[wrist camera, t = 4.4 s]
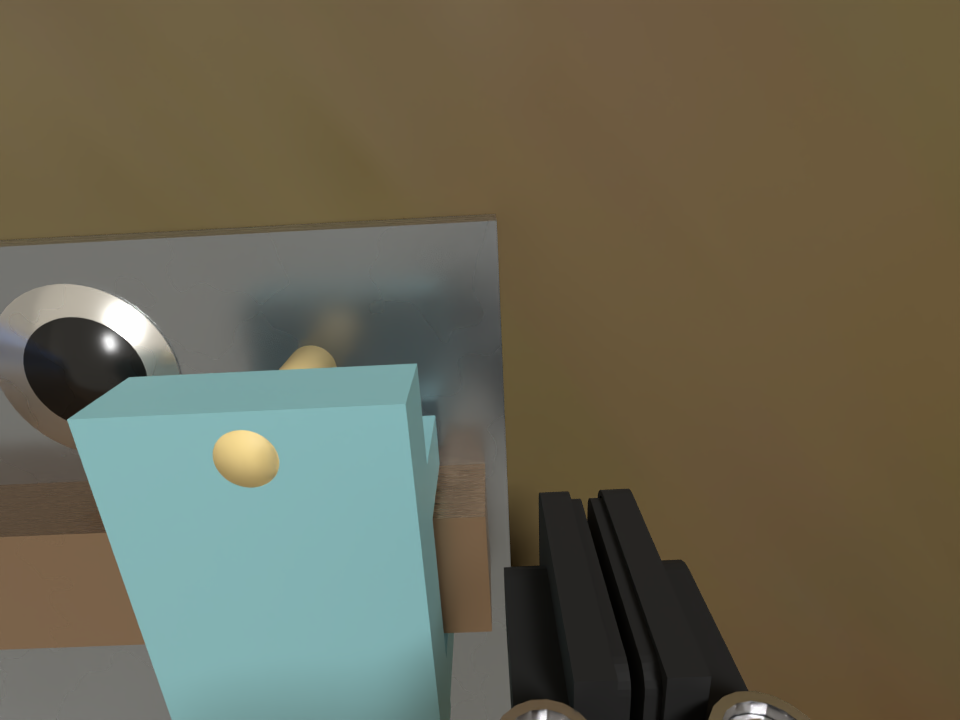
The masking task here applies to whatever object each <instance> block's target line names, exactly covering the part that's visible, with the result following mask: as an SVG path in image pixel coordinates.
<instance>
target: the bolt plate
mask: <svg viewBox="0 0 960 720" xmlns="http://www.w3.org/2000/svg"><path fill="white" fill-rule="evenodd" d="M308 345H313V346H318V347H321V348H323V349H325V350H326V351H327V352H329V353H330V354H331V355H332V357H333V358H334V360H335V363H336V366H337V367H354V366H375V365H396V364H417V367H418V378H419V388H420V398H421V408H422V416H433V415H435V417H436V429H437V440H438V451H439V462H440V465H439V472H438V480H437V488H436V496H435V503H434V511H433V529H434V539H435V550H436V560H437V570H438V580H439V590H440V600H441V610H442V620H443V630H444V633H454V642H453V660H452V678H451V696H450V701H451V714H450V720H500V719H501V717H502V716H503V715H504V714H505V713H506V712H508V711H509V710H510V709H511V699H510V683H509V666H508V650H507V632H506V613H505V590H504V567H511V560H510V536H509V512H508V487H507V463H506V439H505V415H504V390H503V366H502V342H501V317H500V293H499V269H498V245H497V221H496V215H495V214H489V215H470V216H451V217H433V218H414V219H395V220H376V221H357V222H339V223H320V224H301V225H282V226H263V227H245V228H226V229H207V230H188V231H169V232H151V233H132V234H113V235H94V236H75V237H57V238H38V239H19V240H0V720H172V719H171V716H170V713H169V711H168V708H167V705H166V702H165V699H164V696H163V693H162V691H161V688H160V685H159V682H158V679H157V676H156V673H155V670H154V668H153V665H152V662H151V659H150V656H149V653H148V650H147V648H146V645H145V642H144V639H143V636H142V633H141V630H140V628H139V625H138V622H137V619H136V616H135V613H134V610H133V607H132V605H131V602H130V599H129V596H128V593H127V590H126V587H125V585H124V582H123V579H122V576H121V573H120V570H119V567H118V564H117V562H116V559H115V556H114V553H113V550H112V547H111V544H110V542H109V539H108V536H107V533H106V530H105V527H104V524H103V521H102V519H101V516H100V513H99V510H98V507H97V504H96V501H95V499H94V496H93V493H92V490H91V487H90V484H89V481H88V479H87V476H86V473H85V470H84V467H83V464H82V461H81V458H80V456H79V453H78V450H77V447H76V444H75V441H74V438H73V436H72V433H71V430H70V427H69V424H68V421H67V419H69V418H70V417H72V416H73V415H75V414H76V413H77V412H79V411H80V410H82V409H83V408H85V407H86V406H88V405H89V404H91V403H92V402H94V401H95V400H96V399H98V398H99V397H101V396H102V395H104V394H105V393H107V392H108V391H110V390H111V389H113V388H114V387H116V386H117V385H118V384H120V383H121V382H123V381H124V380H126V379H127V378H129V377H144V376H165V375H186V374H207V373H228V372H249V371H270V370H279V369H280V368H281V367H282V366H283V364H284V363H285V362H286V361H287V360H288V359H289V357H290V356H291V355H292V354H293V353H294V352H295V351H296V350H297V349H299V348H301V347H303V346H308Z"/></svg>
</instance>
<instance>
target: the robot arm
mask: <svg viewBox="0 0 960 720" xmlns="http://www.w3.org/2000/svg"><path fill="white" fill-rule="evenodd" d="M539 555H540V566H523V567H504V590H505V613H506V632H507V650H508V666H509V683H510V699H511V709H510V710H509V711H508V712H506V713H505V714H504V715H503V716H502V717H501V719H500V720H810V719H809V718H808V717H807V716H806V715H804V714H803V713H802V712H800V711H799V710H797V709H796V708H795V707H793V706H792V705H791V704H789V703H787V702H785V701H783V700H781V699H778V698H776V697H774V696H772V695H768V694H764V693H759V692H755V691H748V689H747V687H746V685H745V683H744V681H743V679H742V677H741V675H740V673H739V671H738V669H737V667H736V665H735V663H734V661H733V659H732V657H731V654H730V652H729V650H728V648H727V646H726V644H725V642H724V640H723V638H722V636H721V634H720V632H719V630H718V628H717V626H716V624H715V622H714V620H713V618H712V616H711V614H710V612H709V609H708V607H707V605H706V603H705V601H704V599H703V597H702V595H701V593H700V591H699V589H698V587H697V585H696V583H695V581H694V579H693V577H692V575H691V573H690V571H689V569H688V567H687V565H686V564H685V562H683V561H682V560H663V561H661V559H660V556H659V554H658V552H657V550H656V547H655V545H654V543H653V540H652V538H651V536H650V533H649V531H648V529H647V527H646V524H645V522H644V520H643V517H642V515H641V513H640V510H639V508H638V506H637V503H636V501H635V499H634V497H633V494H632V492H631V491H630V489H613V490H600V491H599V493H598V498H589V500H588V517H587V519H586V515H585V512H584V508H583V505H582V501H581V499H571V497H570V494H569V492H545V493H539Z"/></svg>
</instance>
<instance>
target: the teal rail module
mask: <svg viewBox="0 0 960 720" xmlns="http://www.w3.org/2000/svg"><path fill="white" fill-rule="evenodd" d="M67 421H68V424H69V427H70V430H71V433H72V436H73V438H74V441H75V444H76V447H77V450H78V453H79V456H80V458H81V461H82V464H83V467H84V470H85V473H86V476H87V479H88V481H89V484H90V487H91V490H92V493H93V496H94V499H95V501H96V504H97V507H98V510H99V513H100V516H101V519H102V521H103V524H104V527H105V530H106V533H107V536H108V539H109V542H110V544H111V547H112V550H113V553H114V556H115V559H116V562H117V564H118V567H119V570H120V573H121V576H122V579H123V582H124V585H125V587H126V590H127V593H128V596H129V599H130V602H131V605H132V607H133V610H134V613H135V616H136V619H137V622H138V625H139V628H140V630H141V633H142V636H143V639H144V642H145V645H146V648H147V650H148V653H149V656H150V659H151V662H152V665H153V668H154V670H155V673H156V676H157V679H158V682H159V685H160V688H161V691H162V693H163V696H164V699H165V702H166V705H167V708H168V711H169V713H170V716H171V719H172V720H450V714H451V701H450V696H451V678H452V660H453V642H454V633H444V630H443V620H442V610H441V600H440V590H439V580H438V570H437V560H436V550H435V539H434V529H433V511H434V503H435V496H436V488H437V480H438V472H439V465H440V462H439V451H438V440H437V429H436V417H435V415H433V416H422V408H421V398H420V388H419V378H418V367H417V364H396V365H375V366H354V367H337V366H336V363H335V360H334V358H333V357H332V355H331V354H330V353H329V352H327V351H326V350H325V349H323V348H321V347H318V346H313V345H308V346H303V347H301V348H299V349H297V350H296V351H295V352H294V353H293V354H292V355H291V356H290V357H289V359H288V360H287V361H286V362H285V363H284V364H283V366H282V367H281V368H280V369H279V370H270V371H249V372H228V373H207V374H186V375H165V376H144V377H129V378H127V379H126V380H124V381H123V382H121V383H120V384H118V385H117V386H116V387H114V388H113V389H111V390H110V391H108V392H107V393H105V394H104V395H102V396H101V397H99V398H98V399H96V400H95V401H94V402H92V403H91V404H89V405H88V406H86V407H85V408H83V409H82V410H80V411H79V412H77V413H76V414H75V415H73V416H72V417H70V418H69V419H67Z"/></svg>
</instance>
